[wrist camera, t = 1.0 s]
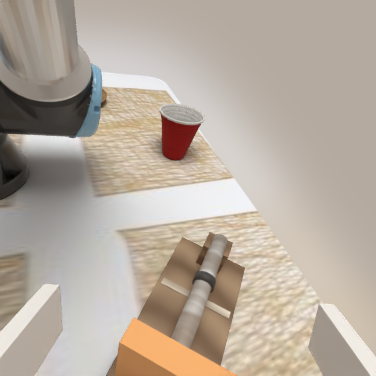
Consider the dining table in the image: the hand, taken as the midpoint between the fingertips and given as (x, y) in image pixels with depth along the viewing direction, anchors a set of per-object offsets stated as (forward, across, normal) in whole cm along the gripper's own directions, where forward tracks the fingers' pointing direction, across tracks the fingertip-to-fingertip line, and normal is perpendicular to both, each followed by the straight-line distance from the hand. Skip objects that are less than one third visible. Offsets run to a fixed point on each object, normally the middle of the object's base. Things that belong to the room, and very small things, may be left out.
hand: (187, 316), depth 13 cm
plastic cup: (+55, -5, +1) cm, 55 cm away
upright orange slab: (+10, -2, -19) cm, 22 cm away
